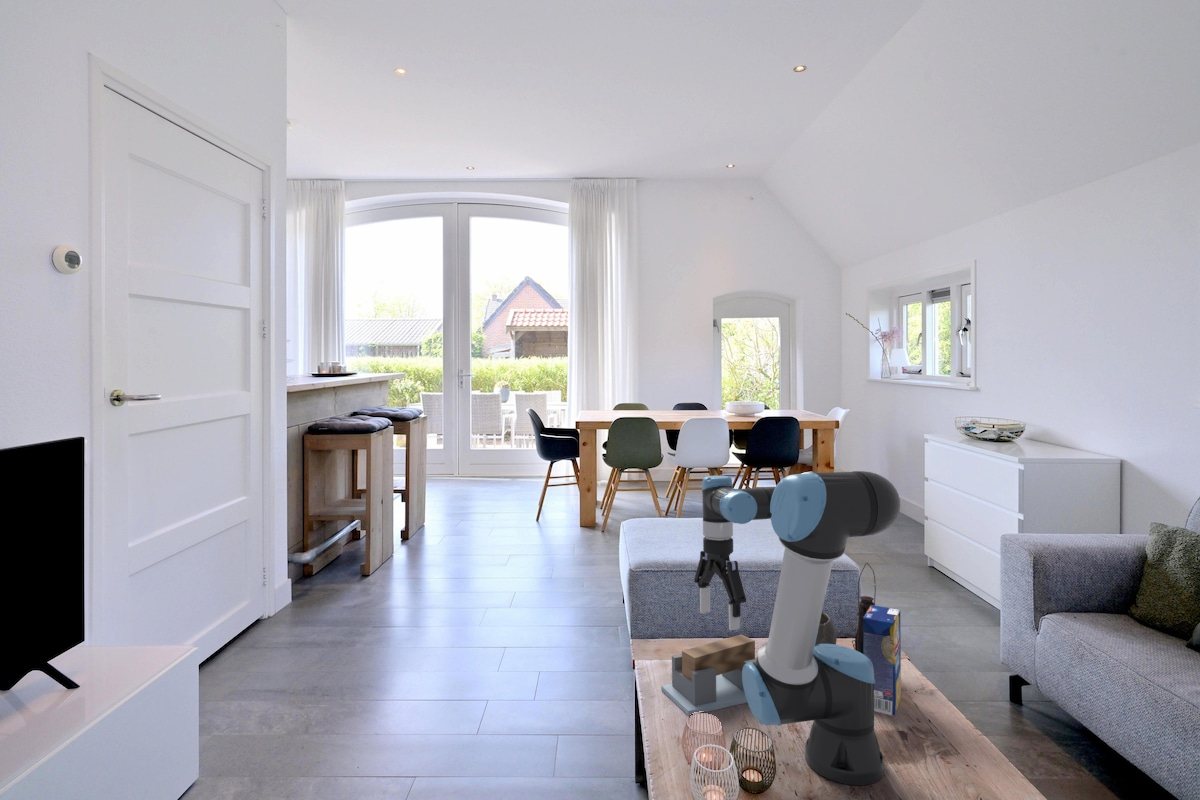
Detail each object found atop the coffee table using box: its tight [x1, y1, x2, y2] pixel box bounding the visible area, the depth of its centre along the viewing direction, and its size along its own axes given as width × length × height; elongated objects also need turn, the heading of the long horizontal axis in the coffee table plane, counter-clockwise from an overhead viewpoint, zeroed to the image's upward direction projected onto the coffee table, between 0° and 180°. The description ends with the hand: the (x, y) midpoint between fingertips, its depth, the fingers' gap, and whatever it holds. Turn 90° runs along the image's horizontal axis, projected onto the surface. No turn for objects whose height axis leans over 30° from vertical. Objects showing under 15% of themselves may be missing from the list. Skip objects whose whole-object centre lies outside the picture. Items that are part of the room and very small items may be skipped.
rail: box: [681, 634, 756, 680], centre depth 161 cm, size 20×5×6 cm, turn 121°
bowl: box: [813, 611, 837, 656], centre depth 181 cm, size 18×18×13 cm
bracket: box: [660, 653, 757, 717], centre depth 161 cm, size 14×26×9 cm, turn 112°
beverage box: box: [863, 604, 902, 717], centre depth 155 cm, size 7×11×22 cm, turn 148°
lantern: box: [851, 562, 877, 654], centre depth 171 cm, size 8×8×30 cm
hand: (719, 620), depth 160 cm, fingers open, 13 cm apart
